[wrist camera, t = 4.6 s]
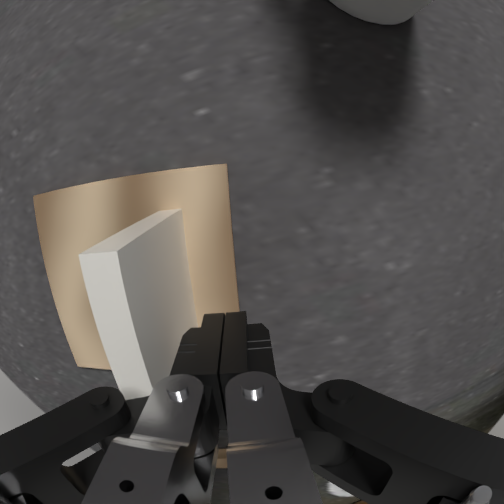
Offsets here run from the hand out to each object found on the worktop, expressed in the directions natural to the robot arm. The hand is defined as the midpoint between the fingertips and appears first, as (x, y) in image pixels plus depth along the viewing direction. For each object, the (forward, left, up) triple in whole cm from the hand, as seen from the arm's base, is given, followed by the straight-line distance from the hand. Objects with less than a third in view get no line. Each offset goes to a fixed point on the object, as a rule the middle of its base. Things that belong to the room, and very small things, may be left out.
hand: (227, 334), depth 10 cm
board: (+6, 0, -6) cm, 8 cm away
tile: (+3, 0, -5) cm, 6 cm away
